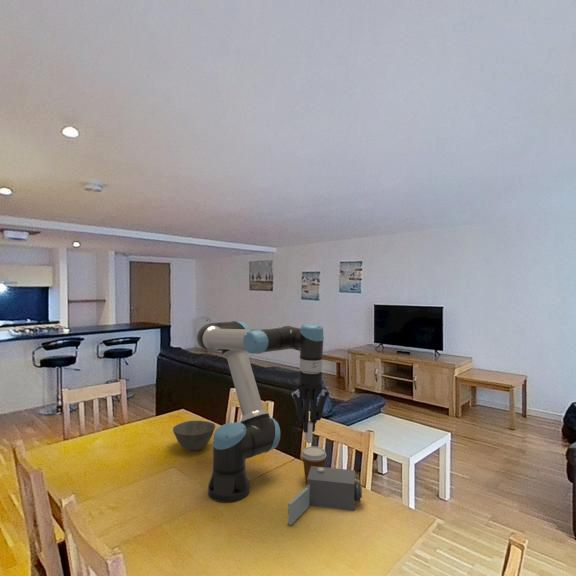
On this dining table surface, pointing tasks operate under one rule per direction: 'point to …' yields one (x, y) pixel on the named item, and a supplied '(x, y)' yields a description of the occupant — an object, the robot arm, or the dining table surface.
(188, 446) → the bowl
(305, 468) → the disposable coffee cup
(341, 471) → the camera block
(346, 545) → the dining table surface
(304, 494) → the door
